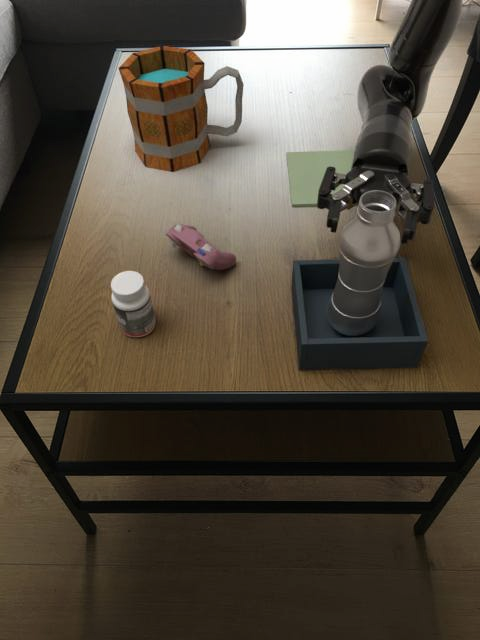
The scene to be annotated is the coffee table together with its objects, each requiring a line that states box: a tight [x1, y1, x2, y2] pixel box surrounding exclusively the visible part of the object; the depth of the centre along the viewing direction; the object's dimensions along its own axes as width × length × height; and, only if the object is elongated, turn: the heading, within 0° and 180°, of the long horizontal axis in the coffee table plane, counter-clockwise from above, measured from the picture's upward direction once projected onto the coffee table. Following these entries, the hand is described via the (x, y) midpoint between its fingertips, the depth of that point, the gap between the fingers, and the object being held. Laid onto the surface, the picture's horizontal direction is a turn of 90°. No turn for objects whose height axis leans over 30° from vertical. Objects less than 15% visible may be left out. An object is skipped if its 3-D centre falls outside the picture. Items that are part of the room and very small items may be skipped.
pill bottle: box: [110, 270, 157, 338], centre depth 68 cm, size 5×5×8 cm
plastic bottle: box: [327, 190, 402, 336], centre depth 62 cm, size 6×7×20 cm
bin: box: [290, 257, 429, 371], centre depth 68 cm, size 15×14×6 cm
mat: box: [285, 149, 359, 208], centre depth 90 cm, size 16×14×1 cm
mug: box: [118, 45, 245, 173], centre depth 90 cm, size 20×14×15 cm
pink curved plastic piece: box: [165, 222, 237, 270], centre depth 77 cm, size 10×5×7 cm, turn 45°
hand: (369, 232), depth 65 cm, fingers open, 8 cm apart
